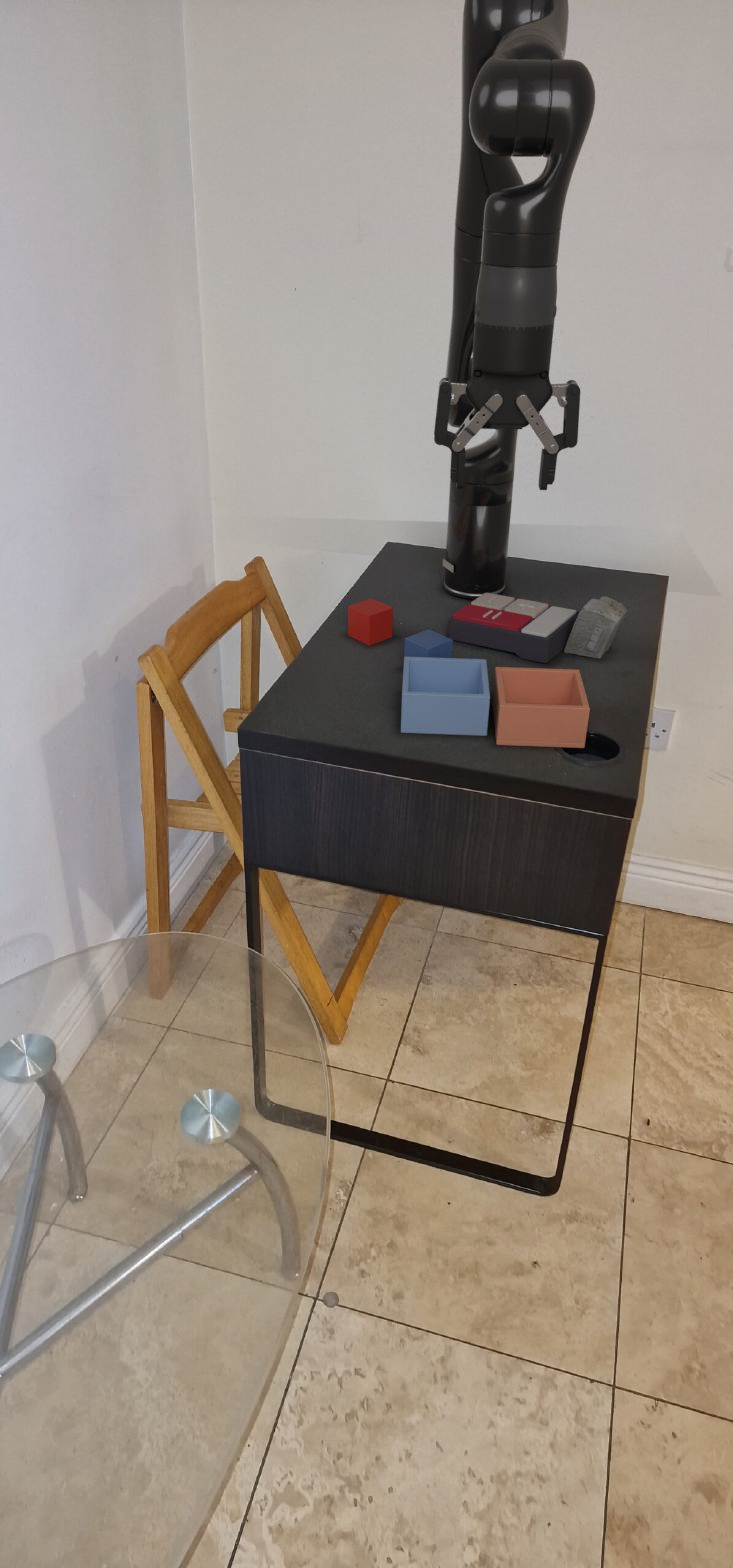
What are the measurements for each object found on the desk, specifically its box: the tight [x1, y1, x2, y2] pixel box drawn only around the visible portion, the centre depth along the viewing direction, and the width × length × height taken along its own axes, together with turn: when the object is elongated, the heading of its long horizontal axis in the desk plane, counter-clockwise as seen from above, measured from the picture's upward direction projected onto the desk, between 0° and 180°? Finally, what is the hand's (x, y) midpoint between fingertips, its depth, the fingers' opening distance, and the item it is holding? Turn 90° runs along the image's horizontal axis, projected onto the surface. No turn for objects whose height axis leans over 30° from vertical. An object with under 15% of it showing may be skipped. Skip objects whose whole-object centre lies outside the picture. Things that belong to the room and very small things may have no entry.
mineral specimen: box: [563, 596, 628, 660], centre depth 136 cm, size 7×9×8 cm
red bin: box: [491, 666, 591, 749], centre depth 119 cm, size 10×10×5 cm
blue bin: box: [400, 656, 491, 737], centre depth 121 cm, size 10×10×5 cm
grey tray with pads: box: [447, 593, 579, 664], centre depth 141 cm, size 11×4×15 cm
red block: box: [347, 598, 394, 647], centre depth 141 cm, size 4×4×4 cm
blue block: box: [403, 629, 454, 658], centre depth 132 cm, size 4×4×4 cm
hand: (500, 487), depth 105 cm, fingers open, 8 cm apart
